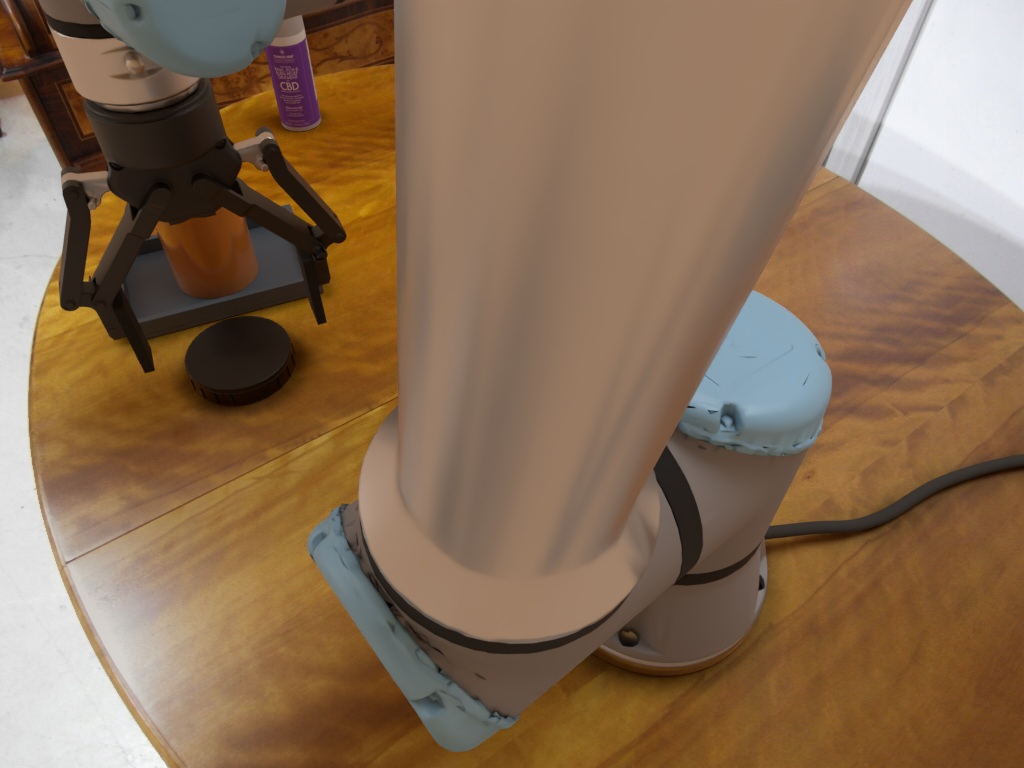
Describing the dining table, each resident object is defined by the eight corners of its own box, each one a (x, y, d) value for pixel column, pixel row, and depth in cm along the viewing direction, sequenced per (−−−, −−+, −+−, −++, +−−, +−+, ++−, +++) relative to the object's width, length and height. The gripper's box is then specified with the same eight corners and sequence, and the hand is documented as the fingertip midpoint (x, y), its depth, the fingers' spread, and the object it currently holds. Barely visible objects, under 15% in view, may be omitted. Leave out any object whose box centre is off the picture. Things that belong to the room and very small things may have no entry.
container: (288, 135, 91) (259, 3, 79) (276, 117, 93) (246, -14, 82) (326, 125, 92) (303, -6, 81) (313, 107, 95) (289, -22, 84)
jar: (250, 239, 77) (219, 133, 68) (267, 286, 72) (235, 178, 64) (171, 258, 75) (128, 151, 66) (182, 307, 70) (138, 199, 61)
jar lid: (310, 381, 65) (306, 365, 64) (207, 421, 62) (200, 405, 61) (276, 319, 70) (271, 303, 68) (179, 353, 67) (172, 337, 65)
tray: (293, 219, 80) (289, 203, 78) (324, 292, 72) (320, 276, 71) (117, 261, 75) (109, 244, 74) (131, 343, 68) (122, 327, 66)
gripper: (-92, 159, 41) (73, 416, 57) (361, 72, 48) (397, 323, 64) (-83, 96, 46) (68, 350, 61) (330, 25, 53) (370, 270, 68)
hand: (235, 336), depth 63 cm, fingers open, 13 cm apart
